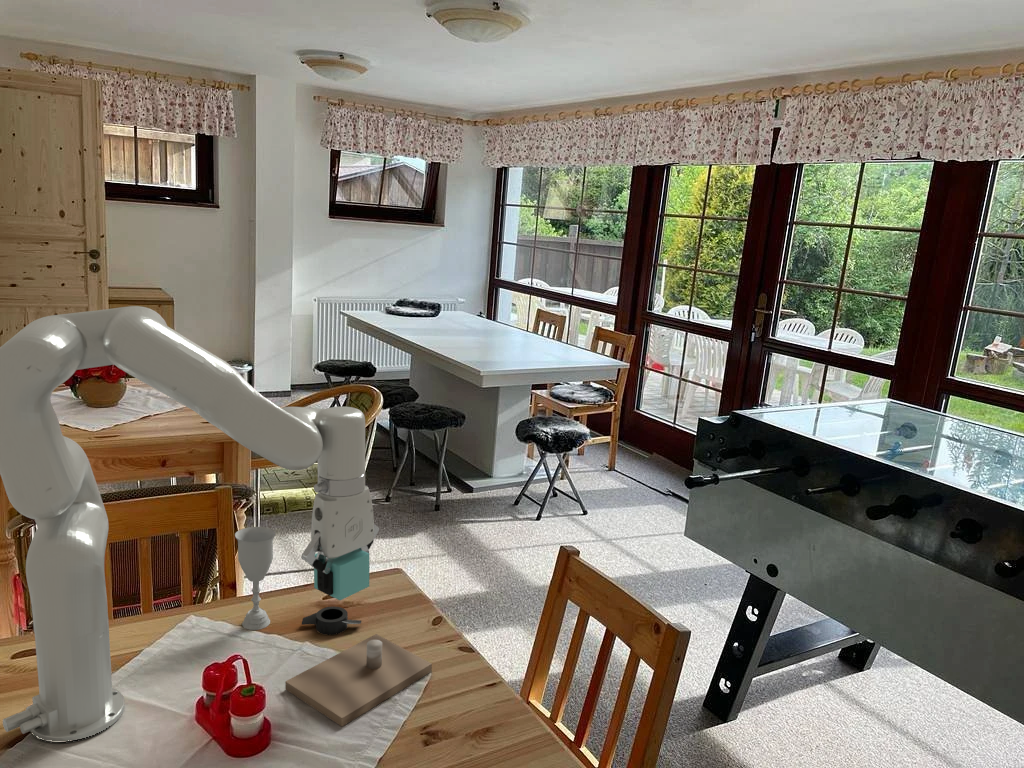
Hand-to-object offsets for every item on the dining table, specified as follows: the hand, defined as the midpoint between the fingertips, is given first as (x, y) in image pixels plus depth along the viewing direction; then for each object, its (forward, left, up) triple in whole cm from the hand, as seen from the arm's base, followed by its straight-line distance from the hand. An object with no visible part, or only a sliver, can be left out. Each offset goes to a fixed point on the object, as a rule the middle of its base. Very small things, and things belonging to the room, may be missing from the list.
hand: (342, 583), depth 130 cm
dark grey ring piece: (+8, +12, -17) cm, 22 cm away
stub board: (+1, -4, -16) cm, 17 cm away
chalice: (0, +24, -17) cm, 29 cm away
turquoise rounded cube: (0, 0, -1) cm, 1 cm away
